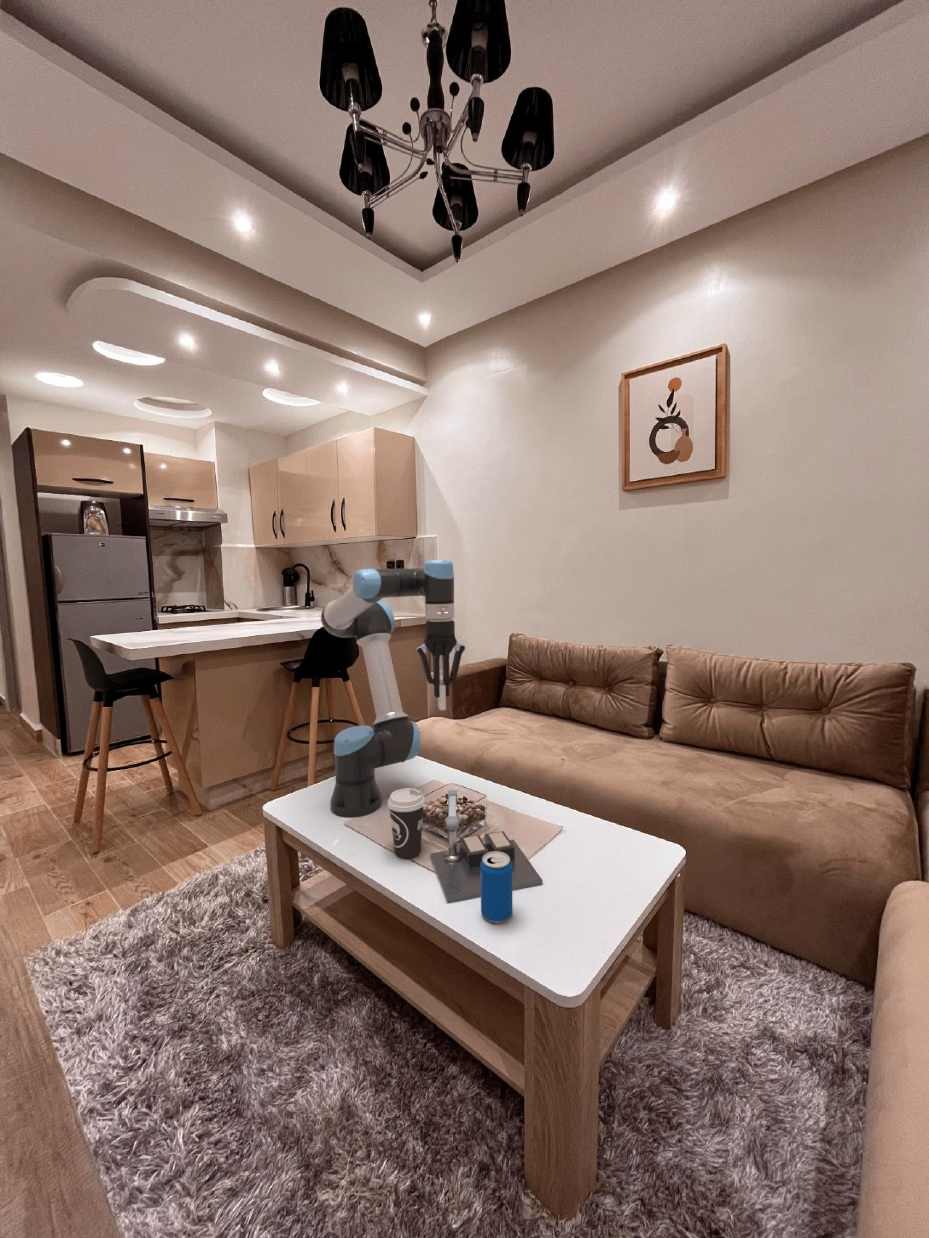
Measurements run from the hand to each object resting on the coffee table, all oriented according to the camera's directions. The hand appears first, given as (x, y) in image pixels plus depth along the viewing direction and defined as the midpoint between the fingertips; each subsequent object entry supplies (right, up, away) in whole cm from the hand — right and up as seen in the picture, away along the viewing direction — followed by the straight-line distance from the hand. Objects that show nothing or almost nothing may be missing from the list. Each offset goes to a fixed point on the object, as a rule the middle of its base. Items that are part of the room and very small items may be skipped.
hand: (442, 708), depth 132 cm
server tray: (+11, -36, -14) cm, 40 cm away
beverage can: (+13, -37, -29) cm, 49 cm away
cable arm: (+3, -27, -3) cm, 27 cm away
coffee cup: (-8, -35, -5) cm, 37 cm away
